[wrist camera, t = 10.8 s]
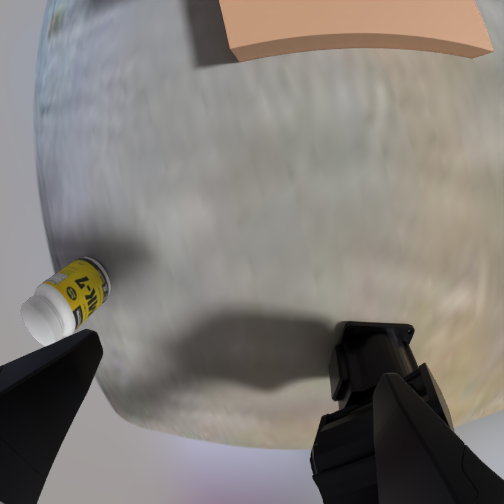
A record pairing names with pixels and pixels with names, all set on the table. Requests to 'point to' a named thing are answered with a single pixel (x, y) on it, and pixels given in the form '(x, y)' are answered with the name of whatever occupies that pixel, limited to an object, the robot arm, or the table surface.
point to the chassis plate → (353, 26)
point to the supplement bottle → (66, 300)
